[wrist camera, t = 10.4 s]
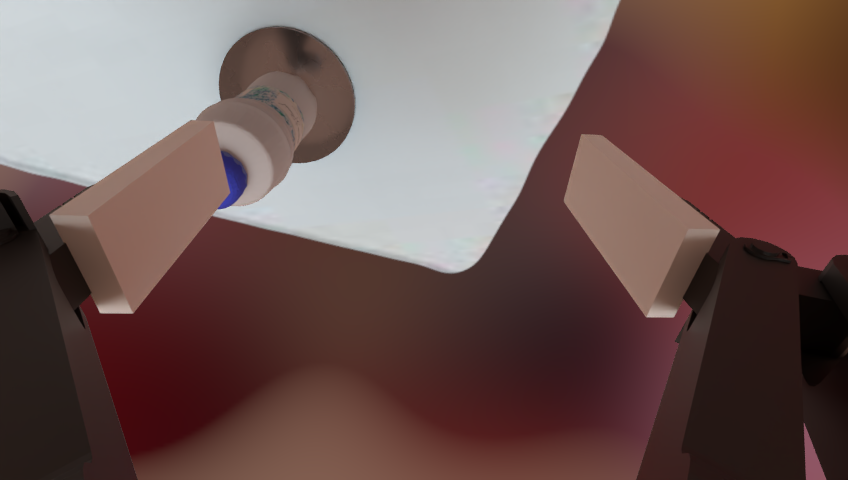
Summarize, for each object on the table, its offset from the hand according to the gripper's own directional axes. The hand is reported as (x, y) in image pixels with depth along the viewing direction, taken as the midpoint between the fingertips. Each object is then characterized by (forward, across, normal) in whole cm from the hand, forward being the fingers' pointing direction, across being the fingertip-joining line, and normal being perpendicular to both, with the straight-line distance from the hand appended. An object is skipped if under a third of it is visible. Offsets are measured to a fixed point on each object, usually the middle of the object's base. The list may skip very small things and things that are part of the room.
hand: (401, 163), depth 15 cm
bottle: (+28, -11, -5) cm, 30 cm away
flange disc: (+28, -11, -5) cm, 31 cm away
